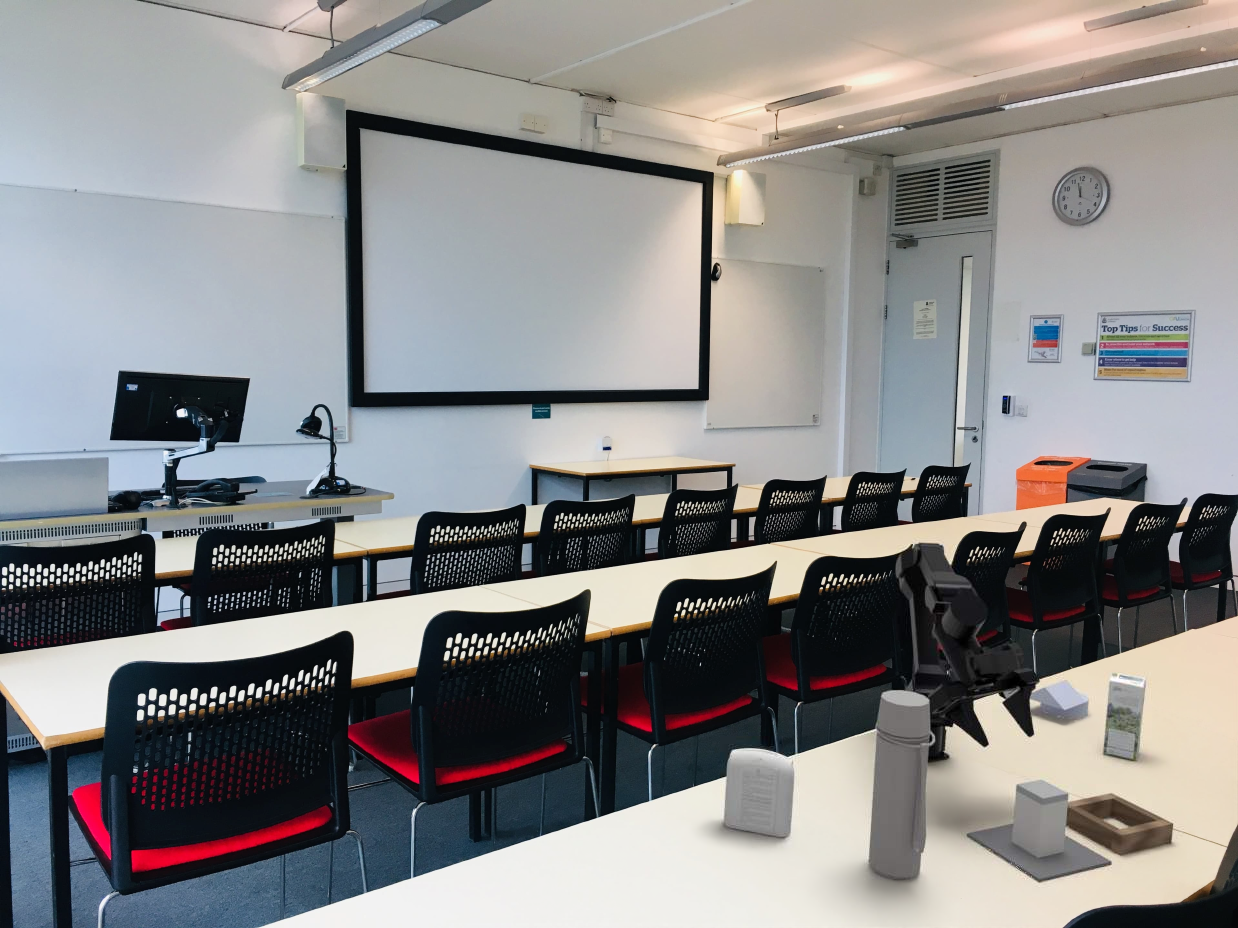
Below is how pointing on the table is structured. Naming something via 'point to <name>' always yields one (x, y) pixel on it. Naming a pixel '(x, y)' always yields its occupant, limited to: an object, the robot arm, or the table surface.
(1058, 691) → the lavender angled block
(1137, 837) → the frame
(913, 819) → the water bottle
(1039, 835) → the grey parts box
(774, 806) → the grey flat block
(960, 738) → the table surface
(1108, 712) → the syrup box
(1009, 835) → the rubber mat
